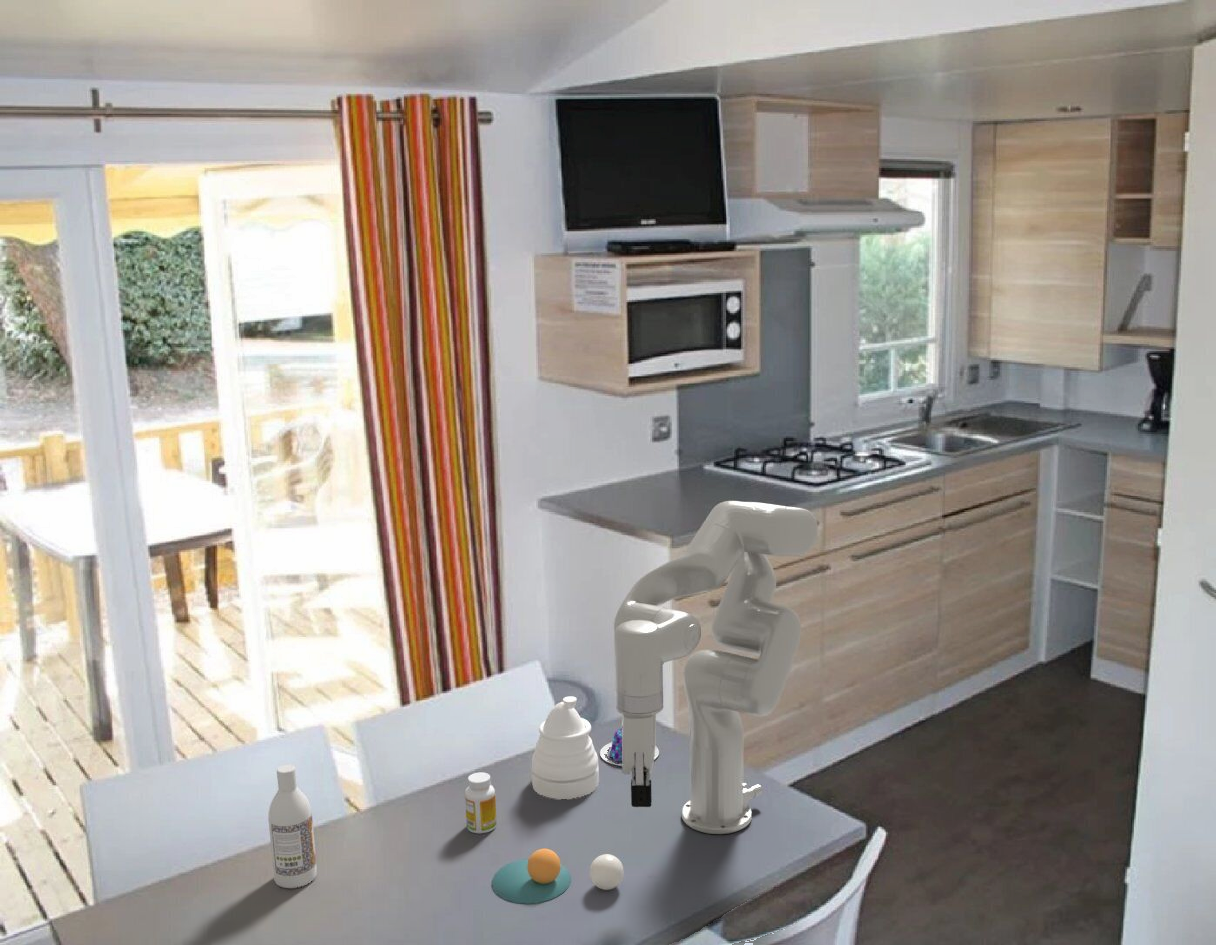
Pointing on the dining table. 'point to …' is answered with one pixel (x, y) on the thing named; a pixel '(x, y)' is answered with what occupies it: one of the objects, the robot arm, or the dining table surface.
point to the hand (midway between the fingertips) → (641, 804)
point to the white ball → (606, 872)
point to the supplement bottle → (480, 804)
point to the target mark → (527, 884)
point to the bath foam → (291, 833)
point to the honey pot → (565, 755)
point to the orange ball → (544, 866)
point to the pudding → (618, 748)
